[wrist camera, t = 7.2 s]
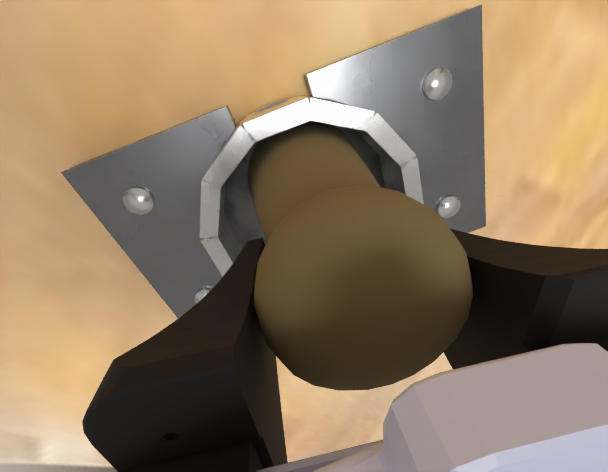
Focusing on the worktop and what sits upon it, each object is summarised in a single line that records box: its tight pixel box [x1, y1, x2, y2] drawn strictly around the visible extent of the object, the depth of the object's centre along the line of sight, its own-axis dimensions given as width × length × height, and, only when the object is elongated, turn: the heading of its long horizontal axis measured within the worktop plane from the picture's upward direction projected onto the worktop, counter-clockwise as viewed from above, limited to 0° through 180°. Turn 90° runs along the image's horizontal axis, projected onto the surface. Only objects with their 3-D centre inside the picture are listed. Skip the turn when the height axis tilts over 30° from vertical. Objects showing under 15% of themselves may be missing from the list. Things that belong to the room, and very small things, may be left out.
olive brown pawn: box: [247, 120, 473, 390], centre depth 10 cm, size 6×6×11 cm
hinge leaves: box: [61, 5, 486, 319], centre depth 15 cm, size 21×12×4 cm, turn 109°
